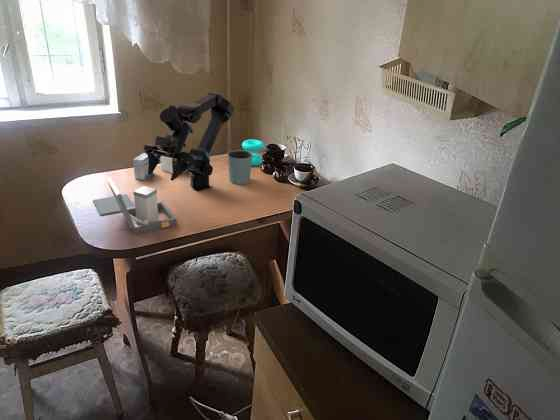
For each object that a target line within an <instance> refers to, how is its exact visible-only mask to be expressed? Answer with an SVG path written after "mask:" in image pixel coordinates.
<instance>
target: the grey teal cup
mask: <svg viewBox="0 0 560 420" xmlns="http://www.w3.org/2000/svg"><path fill="white" fill-rule="evenodd" d="M252 153H253V152H250V151H247V150H245V149H234V150H230V151H229V152H227V163H228V164H227V165H228V177H229V182H230V183H231V184H232V185H237V186H243V185H244V184H245V185H247V184H249V183H250V181H251V172H252V166H251V164H252V156H253V155H252Z"/></svg>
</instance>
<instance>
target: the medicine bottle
mask: <svg viewBox="0 0 560 420" xmlns="http://www.w3.org/2000/svg"><path fill="white" fill-rule="evenodd" d="M167 155H168V154H167ZM159 159H160V169H161V170H162V171H164V172H167V173H170V174H171V175H172V174H173V172H174V169H175V167H176V165H177V159H173V158H168V157H164V156H161V157H160V158H159Z"/></svg>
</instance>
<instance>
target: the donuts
mask: <svg viewBox="0 0 560 420" xmlns="http://www.w3.org/2000/svg"><path fill="white" fill-rule="evenodd" d="M241 147H242V148H243V150H245V151H249V152H251V153H252V155H253V156H252V164H251V167H255V166H260V165H262V164H263V163H262V158H263V156H262V155H260V154H259V153H257V152H260V151H263V149H264V148H265V144H264V142H263V141H262V140H258V139H246V140H244V141H243V142H242V143H241ZM261 163H262V164H261Z"/></svg>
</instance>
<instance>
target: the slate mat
mask: <svg viewBox="0 0 560 420" xmlns="http://www.w3.org/2000/svg"><path fill="white" fill-rule="evenodd" d="M121 196H122V198H123V201H124V203H125V205H126V207H127V208H131V207H135V203H133V201H132V200H131V198H130V196H129V195H128V194H127V193H125V194H121ZM92 202H93V204H94V206H95V207H96V209H97V212H98V214H99V216H101V217H102V216H105V215H112V214H116V213H117V214H118V213H122V211H121V210H120V208H119V205H118V203H117V201H116V199H115V197H114V195H113V196H107V197H102V198H96V199H93V200H92Z"/></svg>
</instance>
